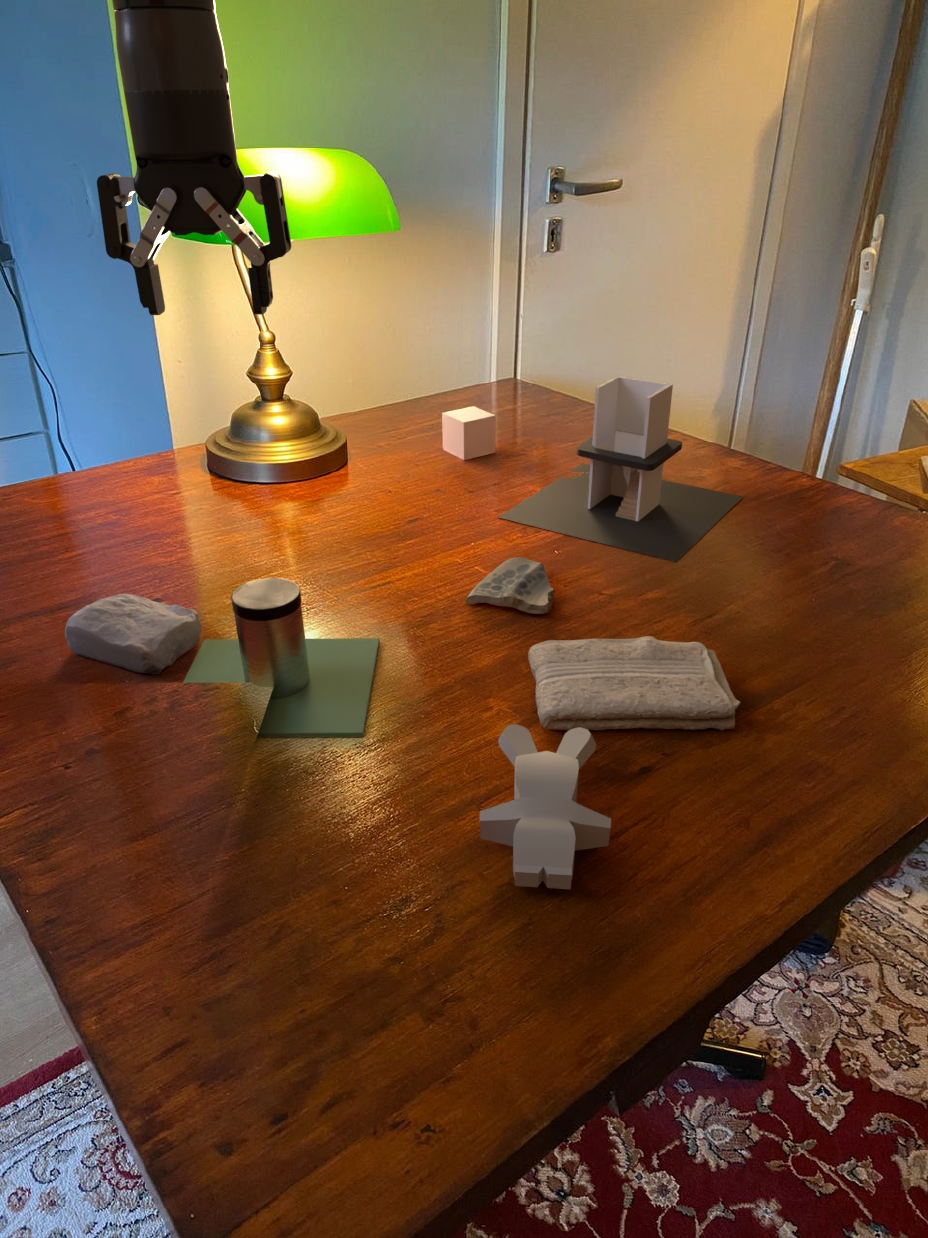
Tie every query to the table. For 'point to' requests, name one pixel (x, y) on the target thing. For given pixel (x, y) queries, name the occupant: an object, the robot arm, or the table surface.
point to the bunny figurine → (545, 809)
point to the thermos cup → (272, 635)
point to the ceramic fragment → (516, 587)
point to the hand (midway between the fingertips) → (209, 313)
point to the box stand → (627, 480)
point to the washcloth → (630, 685)
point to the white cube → (468, 432)
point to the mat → (323, 704)
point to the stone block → (133, 632)
